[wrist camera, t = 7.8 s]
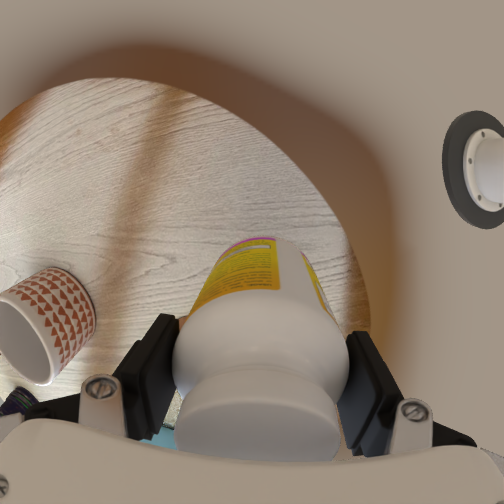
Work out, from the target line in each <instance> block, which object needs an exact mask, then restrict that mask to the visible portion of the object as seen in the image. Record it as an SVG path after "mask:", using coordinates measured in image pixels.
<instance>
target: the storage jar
mask: <svg viewBox="0 0 504 504" xmlns="http://www.w3.org/2000/svg"><path fill="white" fill-rule="evenodd" d="M36 403H39V402H38V400H37V399H36V398H35V397H34V396H33V395H32V394H31V393H30V392H29V391H27V390H26V389H25V388H23V387H20V386H18V387H17V388H16V389H15V390H14V391H13V392H11V393H10V394H9V396H8V397H7V398H6V401H5V402H4V403H3V404H2V405H1V407H0V417H1V416H6V415H10V414H15V413H19V412H20V413H21V415H24V414H25V412H26V410H27V409H28V408H29V407H30V406H31V405H33V404H36Z"/></svg>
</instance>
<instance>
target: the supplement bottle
mask: <svg viewBox="0 0 504 504" xmlns="http://www.w3.org/2000/svg"><path fill="white" fill-rule="evenodd" d="M172 375H173V379H174V383H175V385H176V388H177V390H178V392H179V394H180V396H181V398H182V399H183V402H182V405H181V408H180V411H179V414H178V418H177V421H176V424H175V428H174V442H175V445H176V448H177V450H179V451H184V452H190V453H195V454H202V455H208V456H215V457H223V458H232V459H242V460H254V461H272V462H320V461H332V459H333V458H334V457H335V455H336V454H337V452H338V449H339V446H340V439H341V438H340V437H341V436H340V430H339V425H338V419H337V411H336V407H335V404H336V403H337V401H338V400H339V399H340V397H341V395H342V393H343V391H344V389H345V386H346V383H347V380H348V375H349V355H348V350H347V346H346V343H345V340H344V338H343V335H342V333H341V330H340V328H339V326H338V324H337V322H336V319H335V317H334V315H333V313H332V310H331V308H330V306H329V304H328V301H327V299H326V297H325V294H324V292H323V290H322V287H321V285H320V283H319V281H318V278H317V276H316V274H315V272H314V270H313V268H312V266H311V264H310V262H309V261H308V259H307V257H306V256H305V255H304V254H303V253H302V251H301V250H300V249H298V248H297V247H296V246H295V245H293V244H292V243H290V242H288V241H286V240H284V239H281V238H278V237H274V236H264V235H263V236H253V237H248V238H245V239H242V240H240V241H238V242H236V243H235V244H233V245H232V246H230V247H229V248H228V249H227V250H225V252H224V253H223V254H222V255H221V256H220V257H219V259H218V260H217V262H216V264H215V265H214V267H213V269H212V271H211V273H210V275H209V276H208V278H207V280H206V282H205V284H204V286H203V288H202V290H201V292H200V294H199V296H198V298H197V300H196V301H195V303H194V305H193V307H192V309H191V311H190V313H189V315H188V317H187V318H186V320H185V322H184V324H183V326H182V328H181V330H180V333H179V335H178V337H177V340H176V342H175V345H174V349H173V354H172Z"/></svg>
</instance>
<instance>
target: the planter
mask: <svg viewBox="0 0 504 504" xmlns="http://www.w3.org/2000/svg"><path fill="white" fill-rule="evenodd" d="M95 324H96V320H95V312H94V308H93V305H92V303H91V300H90V298H89V296H88V294H87V292H86V291H85V289H84V288H83V286H82V285H81V284H80V283H79V282H78V281H77V280H76V279H75V278H74V277H73V276H72V275H71V274H69V273H68V272H66V271H64V270H62V269H59V268H54V267H51V268H46V269H44V270H42V271H40V272H38V273H36V274H34V275H33V276H31V277H29V278H27V279H25V280H23V281H22V282H20V283H18V284H16V285H15V286H13V287H11V288H9V289H8V290H6V291H4V292H2V293H1V294H0V353H1V355H2V356H3V358H4V359H5V361H6V362H7V363H8V364H9V366H10V367H11V368H12V369H13V370H14V371H15V372H16V373H17V374H18V375H20V376H21V377H22V378H24V379H25V380H27V381H28V382H30V383H32V384H35V385H38V386H46V385H48V384H50V383H51V382H52V381H53V380H54V379H55V378H56V377H57V375H58V374H59V373H60V372H61V371H62V370H63V369H64V367H65V366H66V365H67V364H68V363H69V362H70V361H71V360H72V358H73V357H74V356H75V355H76V354H77V353H78V352H79V351H80V350H81V349H82V347H83V346H84V345H85V344H86V343H87V342H88V341H89V340H90V339H91V337H92V336H93V333H94V330H95Z"/></svg>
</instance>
